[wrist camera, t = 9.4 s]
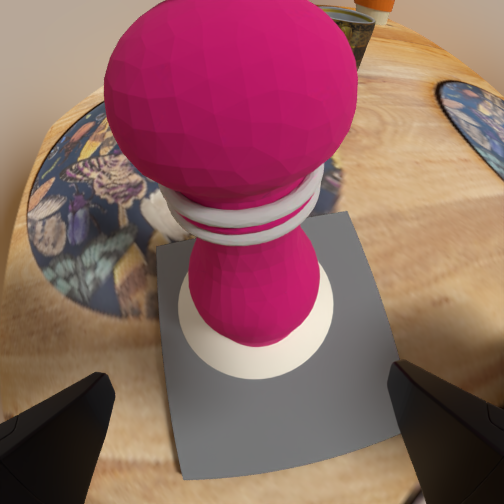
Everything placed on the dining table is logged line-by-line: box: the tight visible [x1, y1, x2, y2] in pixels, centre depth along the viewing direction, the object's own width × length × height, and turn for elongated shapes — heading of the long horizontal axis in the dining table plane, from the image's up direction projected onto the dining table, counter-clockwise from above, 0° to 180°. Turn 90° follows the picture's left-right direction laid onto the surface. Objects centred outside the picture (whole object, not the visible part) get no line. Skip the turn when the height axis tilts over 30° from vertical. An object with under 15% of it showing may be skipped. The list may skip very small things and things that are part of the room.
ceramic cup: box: [319, 7, 376, 71], centre depth 34 cm, size 13×10×10 cm
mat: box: [156, 211, 401, 480], centre depth 19 cm, size 18×16×1 cm
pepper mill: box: [104, 0, 358, 347], centre depth 11 cm, size 7×7×20 cm
